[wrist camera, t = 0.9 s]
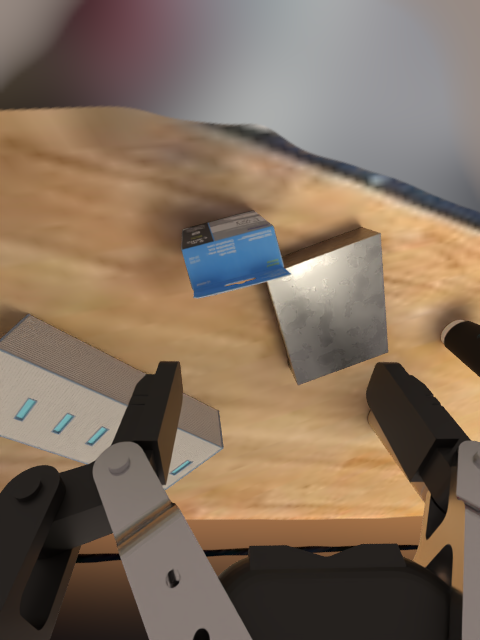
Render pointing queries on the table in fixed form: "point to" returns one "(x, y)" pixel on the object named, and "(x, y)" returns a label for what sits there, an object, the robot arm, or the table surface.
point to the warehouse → (84, 399)
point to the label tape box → (231, 254)
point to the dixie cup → (464, 342)
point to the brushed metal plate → (332, 304)
